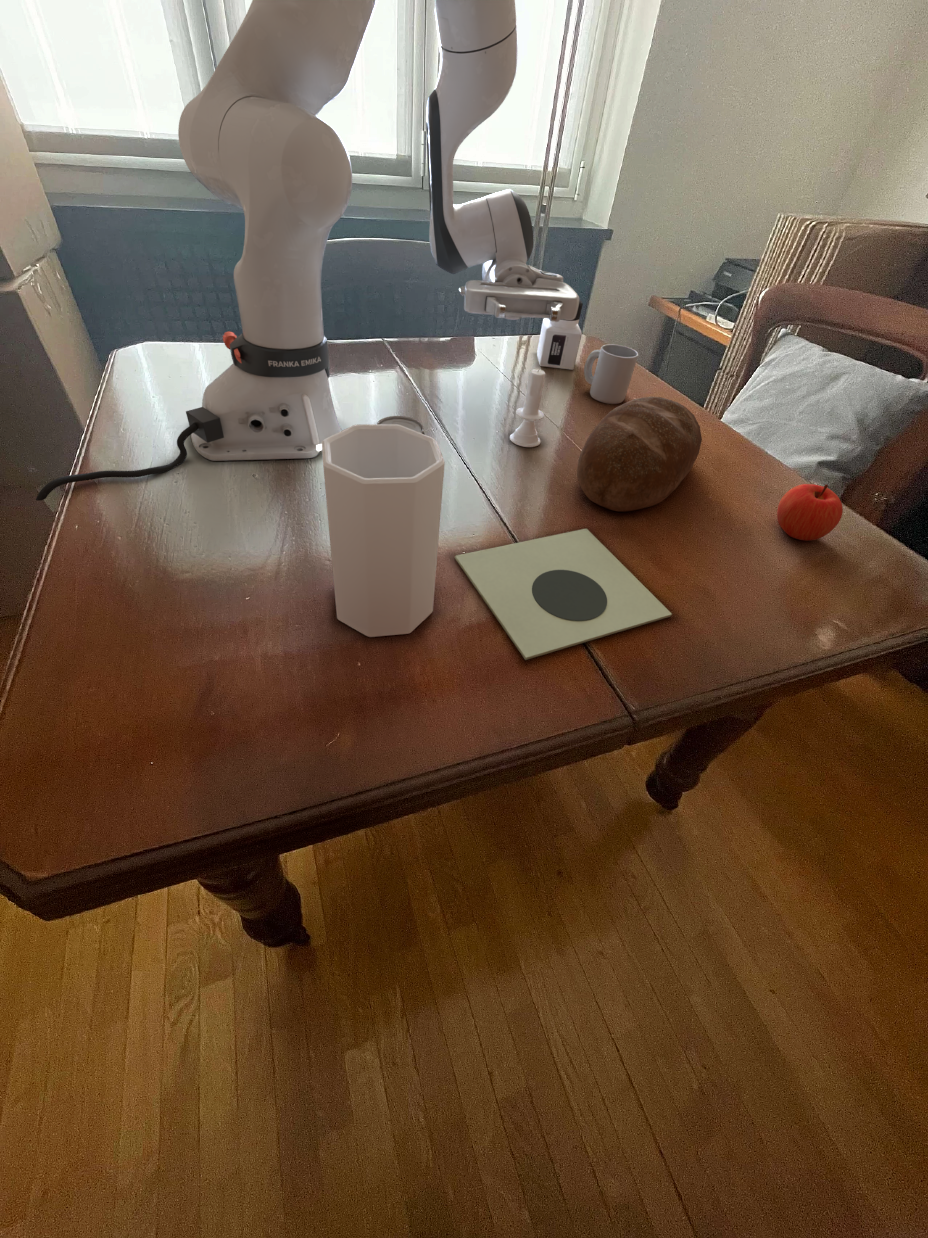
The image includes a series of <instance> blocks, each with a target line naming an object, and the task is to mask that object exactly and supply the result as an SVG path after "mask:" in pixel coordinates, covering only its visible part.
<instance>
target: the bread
mask: <svg viewBox="0 0 928 1238" xmlns="http://www.w3.org/2000/svg"><path fill="white" fill-rule="evenodd" d="M702 442H703V437H702V431H701V425H700V424H699V422H698V420H697V418H696V416H695V414H694V413H693V412H692V411H690V410H689V409H688V408H687V407H686V406H685V405H683V404H681V403H680V402H678V401H674V400H672V399H670V398H669V399H668V398H665V397H661V396H644V397H641V398H640V397H639V398H638V397H637V398H634V399H631V400H629V401H626V402H624V403H623V404H619V405H618V406H616V407H615V408H613V409H612V410H610V411H609V412H608V413H607V414H605V416H604V417H603V418H602V419H601V420H600V421H599V422H598V423H597V424H596V426H595V427H594V428H593V430H592V431H591V433H590V434H589V436H588V437H587V439H586V440H585V443H584V445H583V447H582V449H581V451H580V453H579V456H578V461H577V466H576V479H577V481H578V485H579V487H580V489H581V491H582V492H583V493H584V495H585V496H586V497H587V498H588V500H589V501H591V502H592V503H593V504H596V505H597V506H599V507H602V508H604V509H607V510H610V511H615V512H618V513H619V512H622V513H623V512H633V511H637V510H642V509H646V508H650V507H653V506H656V505H658V504H660V503H661V502H663V501H665V500H666V499H667V498H669V496H670V495H671V494H672V493H673V492H674V491H675V490H676V489H677V488H678V487H679V485H680V484H681V482H683V480H685V478H686V477H687V475H688V474H689V473H690V471H691V470H692V468H693V466H694V465H695V462H696V460H697V458H698V456H699V454H700V449H701V445H702Z"/></svg>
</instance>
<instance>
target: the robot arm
mask: <svg viewBox="0 0 928 1238" xmlns="http://www.w3.org/2000/svg"><path fill="white" fill-rule="evenodd" d="M378 2H379V1H378V0H251V2H250V5H249V7H248V9H247V12H246V14H245V15H244V18H243V20H242V22H241V24H240V25H239V27H238V30H237V31H236V32H235V35H234V37H233V38H232V40H231V41H230V43H229V45H228V47H227V48H226V50H225V52H224V54H223V56H222V57H221V59H220V60H219V62H218V64H217V66H216V68H215V69H214V71H213V73H212V75H211V76H210V78H209V80H208V81H207V83H206V84H205V86H204V87H203V88H202V89H201V91H200V92H199V93H197V94H196V96H195V97H193V98H192V99H191V100H190V101H188V103H186V105H185V106H184V108H183V110H182V112H181V114H180V117H179V121H178V128H177V129H178V130H177V131H178V132H177V134H178V135H177V136H178V143H179V148H180V152H181V154H182V158H183V160H184V163H185V164H186V166H187V168H188V169H189V171H190V173H191V174H192V175H193V177H194V178H195V179H196V180H197V182H198V183H200V184H201V185H202V186H203V187H204V188H205V189H206V190H207V191H208V192H209V193H211V194H212V195H213V196H215V197H216V198H217V199H218V200H220V201H221V202H223V203H225V204H226V205H229V206H231V207H235V208H238V209H240V210H243V211H242V212H243V215H244V240H243V250H242V255H241V258H240V259H239V260H238V262H237V263H235V266H234V269H233V283H234V288H235V294H236V300H237V306H238V312H239V319H240V324H241V330H242V333H240V334H239V335H238V336H237V334H235V332H233V331H225V332H224V333H223V335H222V341H223V343H224V345H225V347H226V348H227V349H228V350H229V351H230V356H231V359H232V360H231V361H232V364H231V365H229V366H228V367H227V368H226V369H225V370H224V371H223V372H222V373H221V374H219V376H217V377H216V378H215V379H214V380H212V381H211V382H210V383H209V384H208V385H207V386H206V387H205V389H204V391H203V393H202V398H201V399H202V400H201V407H200V406H199V407H197V408H193V409H189V410H186V411H185V414H186V419H187V422H188V426H187V427H186V428H185V429H183V431H181V432H180V434H179V435H178V436H177V439H176V445H177V448H178V450H179V455H178V456H177V457H176V458H175V459H174V460H173V461H172V462H170V463H167V464H164V465H163V464H162V465H159V466H152V467H148V468H143V469H142V468H141V469H135V470H98V471H92V472H85V473H77V474H69V475H64V476H60V477H57V478H55V479H53V480H51V481H49V482H48V483H47V484H45V485H43V487H42V488H41V489H40V490H39V492H38V494H37V496H36V498H35V501H44V500H46V499H47V498H48V496H49V495H50V494H51V493H52V492H53V491H54V490H55V489H57V488H59V487H60V486H63V485H67V484H71V483H78V482H85V481H92V480H97V479H104V478H106V479H108V478H125V479H126V478H128V479H129V478H141V477H147V476H152V475H157V474H162V473H166V472H168V471H171V470H173V469H175V468H177V467H178V466H180V465H181V464H183V463H184V462H185V460H186V459H187V457H188V450H187V448H186V446H185V442H186V440H187V438H189V437H190V439H191V443H192V445H193V447H194V449H195V450H196V452H197V453H198V454H199V455H200V456H201V457H203V458H205V459H207V460H209V461H215V462H216V461H219V462H220V461H222V462H223V461H254V460H257V461H258V460H286V459H287V460H289V459H291V460H293V459H294V460H295V459H312V458H315V457H317V456H318V455H319V454H320V452H322V441H323V440H324V439H326V438H328V437H330V436H332V435H334V434H336V433H338V432H340V431H342V427H341V424H340V421H339V418H338V415H337V413H336V409H335V405H334V401H333V397H332V392H331V386H330V380H329V378H330V370H331V361H330V359H331V358H330V348H329V343H328V338H327V337H326V336H325V333H324V320H323V317H324V316H323V302H322V301H323V299H322V298H323V297H322V270H323V263H324V257H325V252H326V247H327V243H328V239H329V236H330V233H331V231H332V229H333V227H334V225H335V224H336V223H337V222H338V221H339V220H340V219H341V218H342V217H343V215H344V214H345V212H346V209H347V208H348V206H349V203H350V200H351V196H352V190H353V171H352V170H353V169H352V163H351V159H350V154H349V152H348V149H347V147H346V144H345V143H344V141H343V139H342V138H341V136H340V135H339V133H338V132H337V131H336V130H335V129H334V128H333V127H332V126H331V125H330V124H329V123H327V122H326V121H324V120H322V119H321V118H320V117H319V116H317V115H318V114H319V113H320V112H322V110H323V109H324V108H325V107H326V106H327V105H328V104H329V103H330V102H332V101H333V100H335V99H336V98H338V97H339V95H341V93H342V92H343V91H344V90H345V88H346V86H347V85H348V83H349V80H350V77H351V75H352V73H353V71H354V70H353V69H354V67H355V64H356V62H357V59H358V56H359V54H360V50H361V48H362V45H363V43H364V40H365V37H366V34H367V32H368V29H369V26H370V24H371V21H372V18H373V16H374V12H375V10H376V7H377V4H378ZM433 3H434V4H433V5H434V15H435V23H436V30H437V38H438V44H439V53H440V57H439V58H440V62H439V71H438V77H437V82H436V85H435V88H434V89H433V90H432V91H431V93H430V94H429V96H428V97H427V102H426V115H425V121H426V122H425V128H426V133H425V134H426V154H427V155H426V156H427V177H428V178H427V179H428V192H429V193H428V195H429V198H428V199H429V228H428V241H429V247H430V248H429V249H430V253H431V254H432V255H431V256H432V258H433V260H434V262H435V264H436V267H439V268H440V269H442V270H443V271H445V272H447V273H449V274H450V275H456V274H458V273H461V272H463V271H465V270H468V269H470V268H472V267H475V266H478V265H482V268H481V276H482V280H478V279H475V280H474V279H470V280H468V281H466V282H465V285H464V286H461V285H460V287H459V288H458V291H459V294H460V295H461V296H462V297H463V310H464V311H465V312H466V313H470V314H475V315H476V314H477V315H478V314H479V315H492V316H494V317H495V318H496V319H497V318H498V319H506V320H509V321H510V320H511V321H514V320H515V321H516V320H520V319H523V318H534V319H544V318H548V319H549V320H550V321H554V322H559V320H560V319H563V320H573V319H575V317H576V315H577V311H578V306H579V299H580V296H579V294H578V293H577V292H576V291H575V290H574V288H573V287H572V286H571V285H569V284H568V283H566V282H564V277H563V276H562V275H561V274H558V273H554V272H550V271H545V270H542V269H541V270H540V269H538V268H536V267H534V266H532V265H529V264H527V262H529V260H530V258H531V256H532V253H533V249H534V230H533V224H532V218H531V215H530V211H529V209H528V206H527V204H526V202H525V200H524V199H523V198H522V197H521V196H520V195H519V194H518V193H517V191H516V192H515V191H514V190H513V189H511V188H509V189H504V190H502V191H498V192H495V193H491V194H488V195H485V196H483V197H481V198H480V197H479V198H477V199H473V200H470V201H467V202H463V203H460V204H454V202H455V201H454V159H455V155H456V153H457V151H458V149H459V148H460V147H461V145H462V143H463V142H464V141H465V140H466V139H467V138H468V137H469V135H470V134H471V133H472V132H473V131H474V130H476V129H477V128H478V127H479V126H480V125H482V124H483V123H484V122H485V121H486V120H487V119H489V118H490V117H491V116H492V115H493V114H494V113H495V112H496V111H497V110H499V108H500V107H501V106H502V104H503V103H504V102H505V100H506V99H507V97H508V95H509V93H510V91H511V89H512V87H513V85H514V82H515V79H516V76H517V71H518V56H519V55H518V54H519V51H518V49H519V46H518V45H519V44H518V26H517V25H518V24H517V23H518V22H517V13H516V12H517V11H516V10H517V9H516V0H433Z"/></svg>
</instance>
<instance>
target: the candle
mask: <svg viewBox="0 0 928 1238" xmlns="http://www.w3.org/2000/svg"><path fill="white" fill-rule="evenodd" d="M545 380H546V372H545V370H543V369H541V368H539V369H538V368H537V369H535V368H534V369H531V370H529V372H528V376H527V382H526V385H525V396H524V402H523V406H521V407H518V408H517V409H516V410H515V413H516V414H517V416H518V417H520V418H521V419H522V422H521V423H520V425H519V426H518V427H516V428H515V430H514V432H513V433H511V434H510V435H509V440H510V441H511V442H512V444H515V445H516V446H519V447H523V448H535V447H537V446H539V445H540V444H541V443H542V441H541V439H540V437H539V432H538V430H537V429H536V425H535V422H536V421H539V420H541V419H544V418H545V413H544V412H543V411H542V410H540V406H541V400H542V395H543V391H544V385H545Z"/></svg>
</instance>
